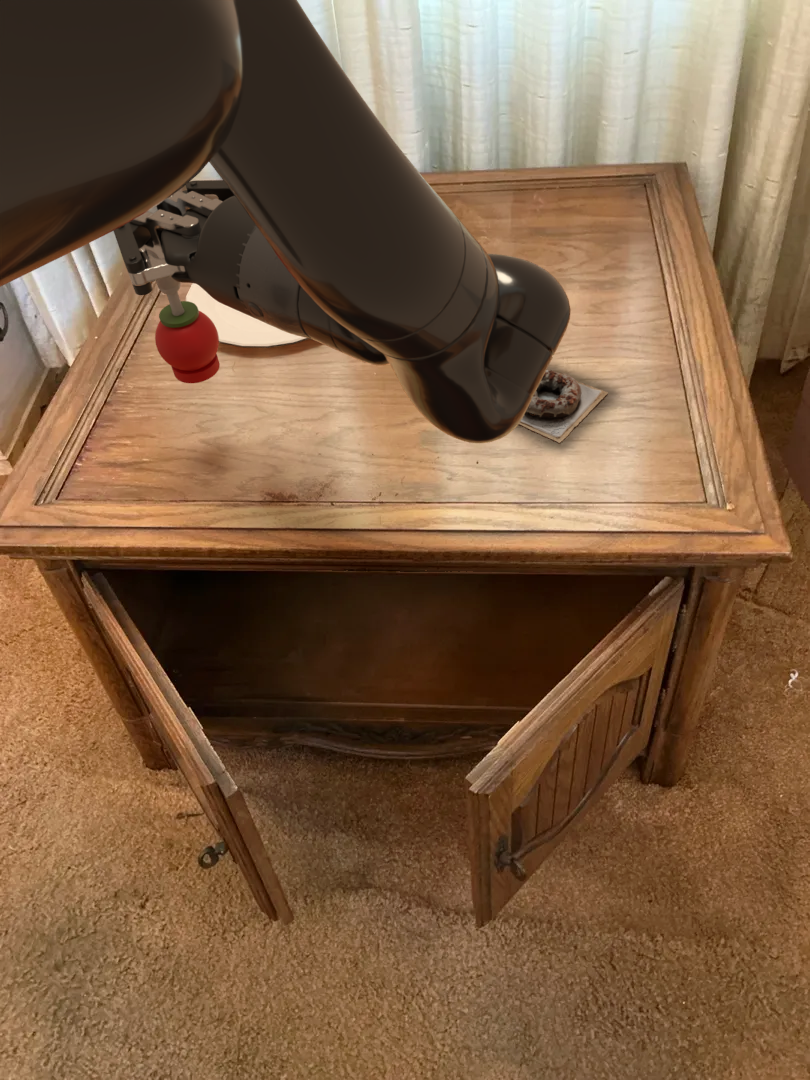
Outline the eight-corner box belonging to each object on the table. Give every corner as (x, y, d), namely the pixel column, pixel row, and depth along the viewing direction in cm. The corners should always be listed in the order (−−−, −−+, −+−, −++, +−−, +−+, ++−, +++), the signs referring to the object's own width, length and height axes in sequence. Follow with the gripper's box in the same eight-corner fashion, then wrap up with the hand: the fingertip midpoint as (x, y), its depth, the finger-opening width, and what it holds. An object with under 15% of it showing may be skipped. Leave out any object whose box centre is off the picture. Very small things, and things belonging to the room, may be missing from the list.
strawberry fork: (175, 395, 72) (109, 212, 59) (160, 362, 75) (94, 182, 62) (234, 375, 73) (181, 192, 60) (216, 343, 76) (163, 163, 63)
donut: (539, 366, 85) (540, 349, 84) (607, 394, 82) (609, 377, 80) (490, 412, 81) (490, 395, 80) (559, 443, 78) (561, 426, 76)
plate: (229, 245, 105) (226, 233, 104) (390, 256, 101) (389, 243, 99) (157, 348, 93) (152, 335, 91) (338, 366, 88) (335, 353, 87)
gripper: (344, 170, 57) (173, 116, 65) (193, 267, 50) (23, 195, 58) (357, 269, 62) (199, 209, 70) (223, 368, 56) (65, 290, 64)
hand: (120, 203), depth 64 cm, fingers closed on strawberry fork
